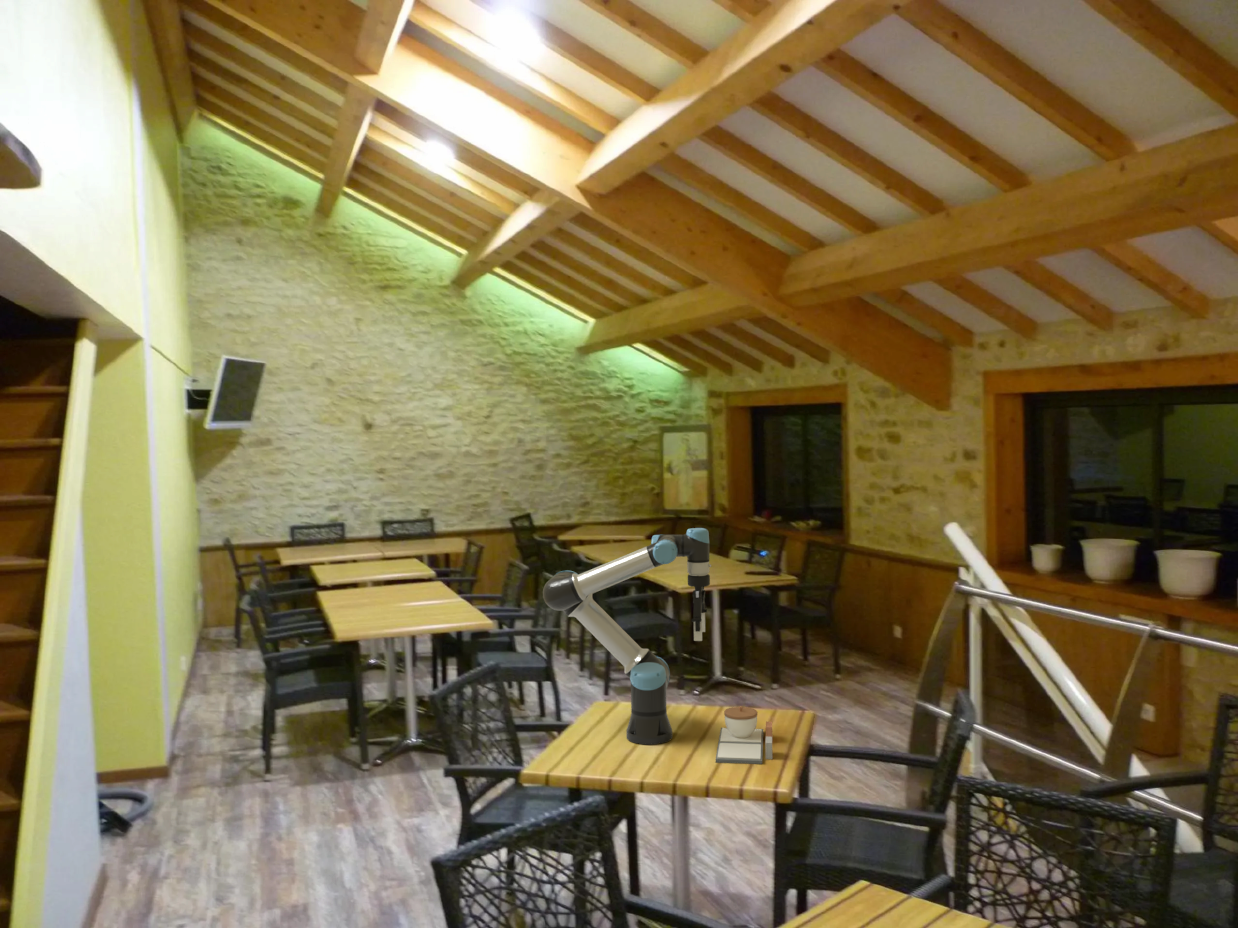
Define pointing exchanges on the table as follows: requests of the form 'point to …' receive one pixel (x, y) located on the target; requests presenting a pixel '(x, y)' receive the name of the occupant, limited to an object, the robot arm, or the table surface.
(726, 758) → the board
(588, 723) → the table surface
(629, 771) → the table surface
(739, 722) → the lidded jar
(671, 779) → the table surface
